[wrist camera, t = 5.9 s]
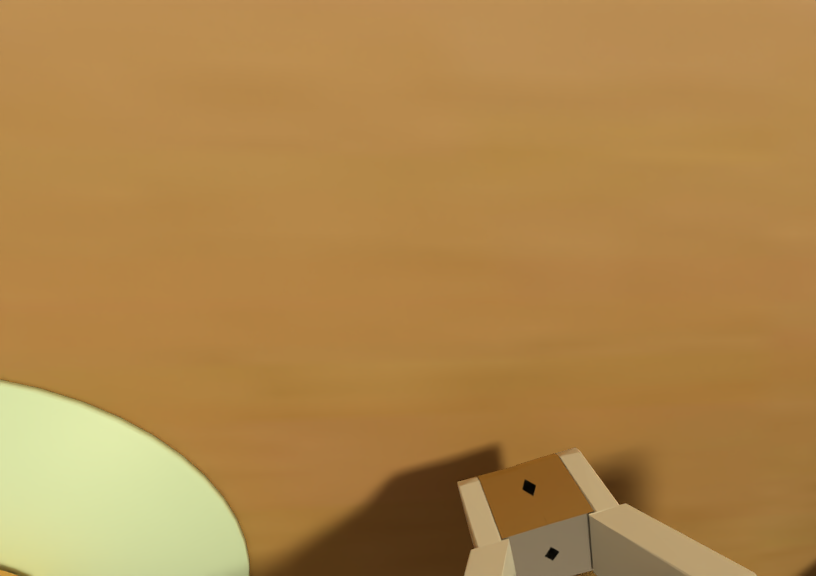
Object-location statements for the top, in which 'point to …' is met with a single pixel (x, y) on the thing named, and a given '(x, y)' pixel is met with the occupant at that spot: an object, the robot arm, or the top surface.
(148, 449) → the pale green disc
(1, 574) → the ball
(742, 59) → the top surface
